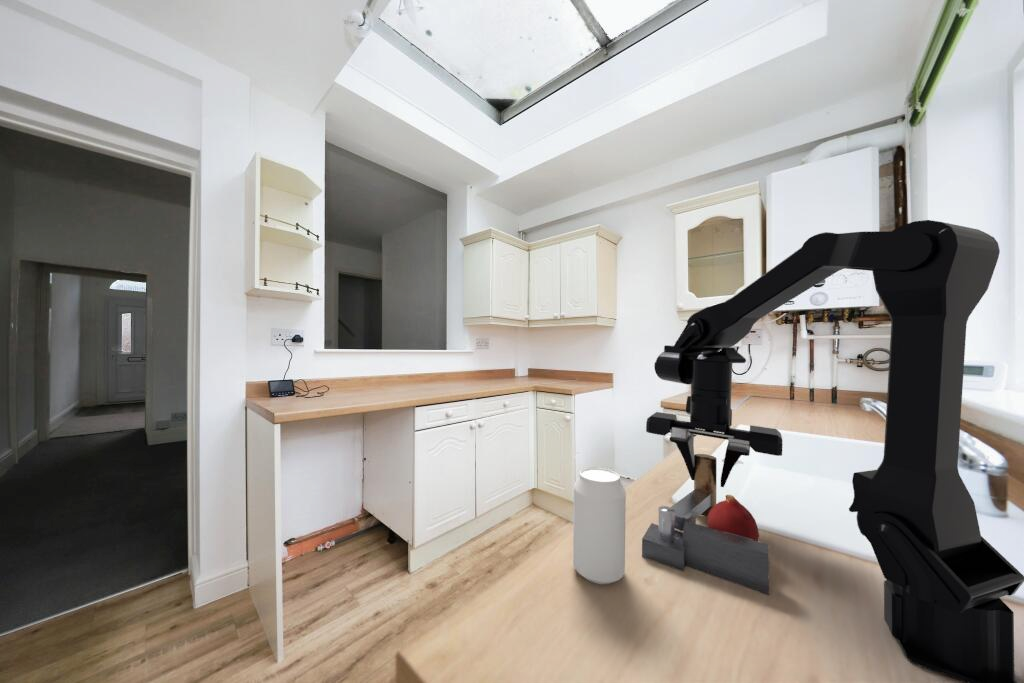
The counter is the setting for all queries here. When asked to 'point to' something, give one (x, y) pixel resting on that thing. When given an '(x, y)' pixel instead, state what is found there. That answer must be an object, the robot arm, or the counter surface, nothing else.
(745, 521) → the onion
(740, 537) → the base
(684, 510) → the lever
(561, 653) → the counter surface
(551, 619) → the counter surface
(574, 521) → the beverage can
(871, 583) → the counter surface
